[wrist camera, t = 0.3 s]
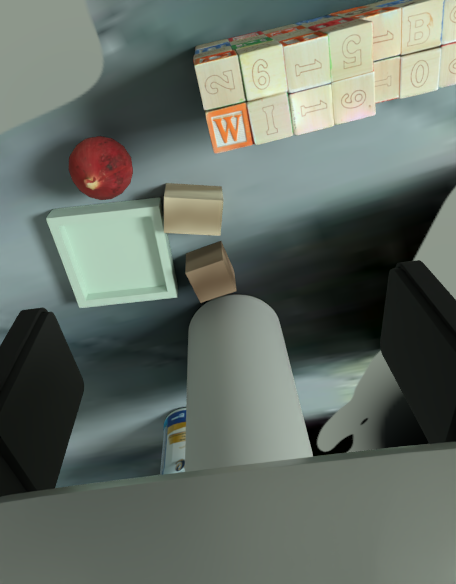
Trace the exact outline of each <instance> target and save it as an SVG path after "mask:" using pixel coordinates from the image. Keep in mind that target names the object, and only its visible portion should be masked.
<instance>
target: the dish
mask: <svg viewBox="0 0 456 584" xmlns="http://www.w3.org/2000/svg"><path fill="white" fill-rule="evenodd" d="M46 220H47V223H48V225H49V228H50V231H51V233H52V236H53V239H54V241H55V244H56V247H57V249H58V252H59V255H60V257H61V260H62V262H63V265H64V268H65V270H66V273H67V276H68V278H69V281H70V284H71V286H72V289H73V292H74V294H75V297H76V300H77V302H78V305H79V308H84V307H93V306H103V305H112V304H121V303H130V302H139V301H148V300H158V299H167V298H176V297H177V293H178V284H177V279H176V274H175V269H174V264H173V259H172V253H171V248H170V243H169V238H168V233H164V213H163V208H162V202H161V197H158V198H149V199H140V200H131V201H122V202H113V203H104V204H95V205H86V206H77V207H67V208H58V209H52V210H51V212H50V213H49V215H48V216H47V218H46Z"/></svg>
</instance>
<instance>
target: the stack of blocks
mask: <svg viewBox="0 0 456 584" xmlns="http://www.w3.org/2000/svg"><path fill="white" fill-rule="evenodd" d="M193 62H194V67H195V71H196V76H197V80H198V85H199V89H200V94H201V98H202V103H203V108H204V110H205V114H206V120H207V124H208V129H209V133H210V138H211V142H212V146H213V150H214V153H215V154H217V153H221V152H225V151H229V150H234V149H238V148H242V147H246V146H251V145H253V144H255V145H259V144H263V143H267V142H271V141H275V140H279V139H283V138H286V137H290V136H292V135H302V134H306V133H309V132H313V131H317V130H321V129H325V128H329V127H332V126H334V125H339V124H343V123H347V122H351V121H355V120H359V119H362V118H366V117H370V116H374V115H376V114H375V104H376V103H380V102H384V101H388V100H393V99H397V98H399V99H402V98H406V97H411V96H415V95H420V94H424V93H428V92H432V91H436V90H438V88H442V87H447V86H451V85H455V84H456V0H385V1H381V2H377V3H373V4H369V5H365V6H361V7H356V8H352V9H348V10H344V11H339V12H335V13H331V14H328V15H327V16H323V17H319V18H315V19H311V20H306V21H302V22H298V23H295V24H291V25H287V26H283V27H278V28H274V29H270V30H266V31H263V32H261V31H259V32H254V33H250V34H246V35H242V36H237V37H233V38H229V39H223V40H219V41H215V42H210V43H206V44H202V45H198V46H196V47H195V55H194V56H193Z"/></svg>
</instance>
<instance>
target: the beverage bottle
mask: <svg viewBox="0 0 456 584" xmlns="http://www.w3.org/2000/svg"><path fill="white" fill-rule="evenodd" d="M185 444H186V408H181V409H178V410H175V411H173V412H172V413H170V414H169V415H168V416H167V418H166V419H165V422H164V435H163V449H162V461H161V472H160V475H163V474H171V473H180V472H185Z"/></svg>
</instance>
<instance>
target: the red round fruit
mask: <svg viewBox="0 0 456 584" xmlns="http://www.w3.org/2000/svg"><path fill="white" fill-rule="evenodd" d="M69 172H70V175H71V177H72V180H73V182H74V184H75V185H76V186H77V187H78V189H79V190H80V191H81V192H83V193H84V194H86V195H87V196H89V197H91V198H95V199H99V200H106V199H112V198H114V197H116V196H118V195H120V194H122V193H123V191H124V190H125V189H126V188H127V187H128V185H129V184H130V182H131V178H132V174H133V168H132V161H131V157H130V155H129V154H128V152H127V151H126V149H125V147H124V146H123V145H121V144H120V143H118V142H117V141H115V140H114V139H112V138H107V137H102V136H98V137H92V138H87V139H85V140H83V141H82V142H80V143H79V144H78V145H76V147H75V149H74V150H73V152H72V153H71V155H70V157H69Z"/></svg>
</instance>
